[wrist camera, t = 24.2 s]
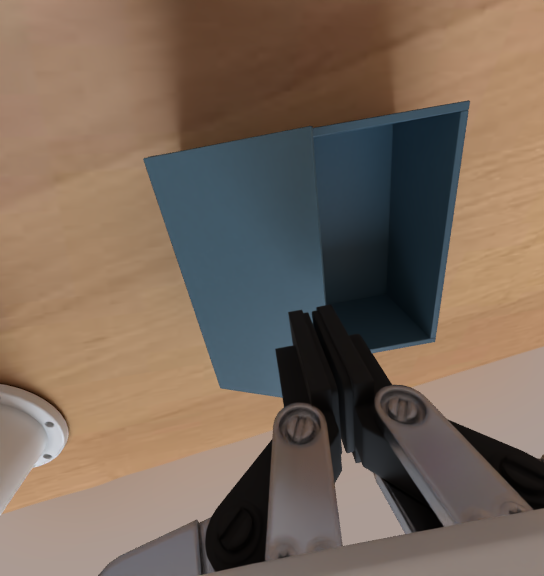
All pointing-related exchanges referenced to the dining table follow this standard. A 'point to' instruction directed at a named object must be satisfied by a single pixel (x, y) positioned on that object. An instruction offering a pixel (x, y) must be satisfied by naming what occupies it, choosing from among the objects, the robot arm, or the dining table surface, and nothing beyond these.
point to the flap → (245, 246)
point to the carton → (389, 220)
